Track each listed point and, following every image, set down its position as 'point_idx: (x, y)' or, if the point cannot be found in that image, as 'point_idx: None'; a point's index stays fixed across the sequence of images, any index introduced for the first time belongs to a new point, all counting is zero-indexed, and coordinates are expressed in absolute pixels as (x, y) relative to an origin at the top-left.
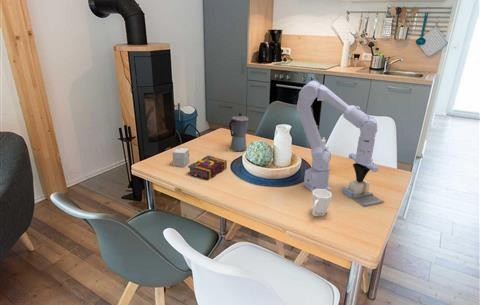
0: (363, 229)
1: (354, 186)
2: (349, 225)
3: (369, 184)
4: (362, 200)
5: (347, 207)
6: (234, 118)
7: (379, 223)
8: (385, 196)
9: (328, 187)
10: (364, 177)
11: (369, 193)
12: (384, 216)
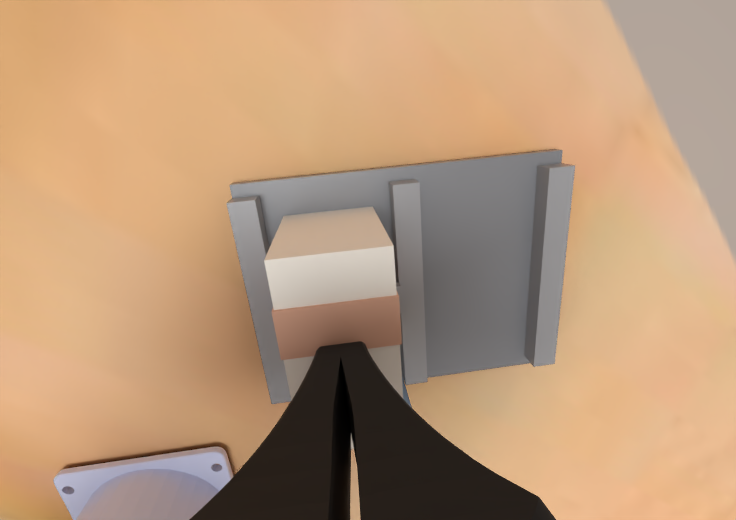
0: (698, 456)
1: None
2: (637, 500)
3: (388, 237)
4: (460, 319)
5: (486, 441)
6: None
7: (713, 352)
8: (448, 26)
9: (197, 469)
10: (381, 374)
11: (408, 218)
12: (681, 274)
